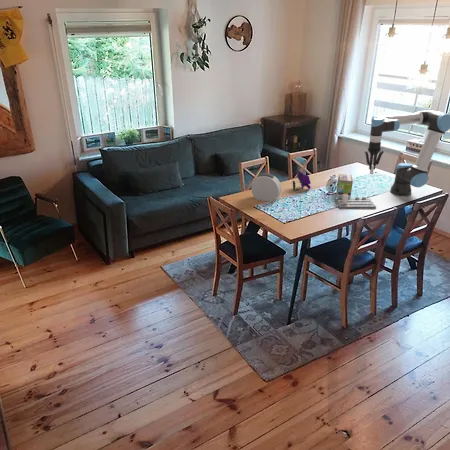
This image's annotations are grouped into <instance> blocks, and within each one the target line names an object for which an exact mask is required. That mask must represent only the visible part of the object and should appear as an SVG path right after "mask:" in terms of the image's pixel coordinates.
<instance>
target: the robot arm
mask: <svg viewBox="0 0 450 450" xmlns="http://www.w3.org/2000/svg"><path fill="white" fill-rule="evenodd" d="M405 125H406V126H407V125H417V126H426V127H427V130H426V131H427V132H428V133H427V135H426V137H425V140H424V142H423V144H422V147H421V148H420V151H419V153H418V156H417V158H416V160H415V162H414V163H409V162H404V163H403V162H402V163H400V162H399V163H398V164H397V166H396V171H395V175H394V176H395V177H394V181H393V184H392V185H391V187H390V190H389V191H390V193H391V194H392V195H393V194H394V195H396V196H403V197H405V196H410V195H411V194H412V187H414V188H421V187H424V186H425V185H426V184H427V183H428V182H429V181H428V180H429V176H428V172H429V169H428V166H429V165H430V162H431V159H432V158H433V156H434V153H435V151H436V149H437V147H438V146H437V145H438V144H439V141H440V139H441V136H444V135H445V133H446V132H448V131H449V130H450V114H449V113H446V112H442V111H440V110H439V111H438V110H435V109H430V110H429V109H427V110H426V109H425V110H420V111H416V112H413V113H403V114H401V113H400V114H393V115H374V116H372V118H371V124H370V135H369V141H368V142H369V144H368V148H367V150H364V154H365V159H366V164H367V165H368V170H369V174H370V175H374V171H375V169H376V166H377V165H379V163H380V160H381V158H382V155H383V154H384V151H383V149H381V147H382V146H381V145H382V142H381V141H382V138H383V137H382V136H383V133H387V132H394V131H395V132H396V131H398V130H399V129H400V126H405ZM369 155H370V156H369Z"/></svg>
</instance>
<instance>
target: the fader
mask: <svg viewBox="0 0 450 450" xmlns="http://www.w3.org/2000/svg"><path fill="white" fill-rule="evenodd" d="M347 201H348V194H343V199H342V202H343V203H347Z"/></svg>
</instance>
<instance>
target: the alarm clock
mask: <svg viewBox="0 0 450 450" xmlns="http://www.w3.org/2000/svg"><path fill="white" fill-rule="evenodd" d="M282 189H283V188H282V184H281V182H280V180H279V179H278V178H277V177H276V176H275V175H273V174H271V173H261V174H260V175H259V176H258V177H256V178H255V180H254V181H253V183H252V184H251V193H252V196H253V197H254V199H255V200H257V201H264V202H269V203H273V202H274V203H275V201H276V200H277V199H278V198H279V197H280V195H281V193H282Z"/></svg>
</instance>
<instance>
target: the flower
mask: <svg viewBox="0 0 450 450" xmlns="http://www.w3.org/2000/svg"><path fill="white" fill-rule="evenodd" d="M296 175H297V179H298V181H299V182H298V183H300V185H299V186H298V187H296V182H295V180H293V181H292V190H293V191H294V192H297V191H300V189H299V187H300V186H301V187H302V188H304V187H306V188H307V189H308V190H311V187H312V186H311V184H312V183H311V179H310V176H309V175H307V174H303V173H302V171H300V170H297V173H296Z"/></svg>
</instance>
